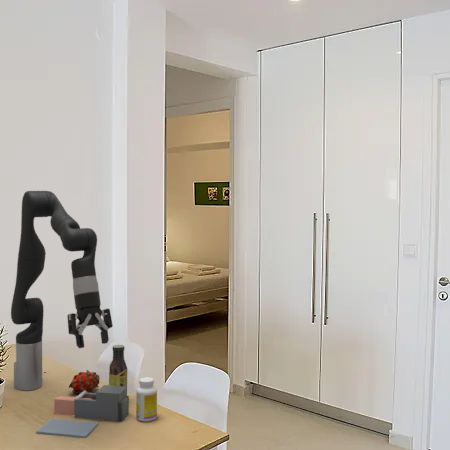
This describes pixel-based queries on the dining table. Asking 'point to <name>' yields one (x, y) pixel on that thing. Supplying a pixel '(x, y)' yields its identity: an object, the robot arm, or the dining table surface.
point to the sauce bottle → (118, 367)
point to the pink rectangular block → (64, 405)
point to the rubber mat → (67, 428)
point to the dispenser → (103, 404)
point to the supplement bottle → (146, 400)
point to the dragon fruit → (84, 382)
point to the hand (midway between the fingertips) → (93, 345)
